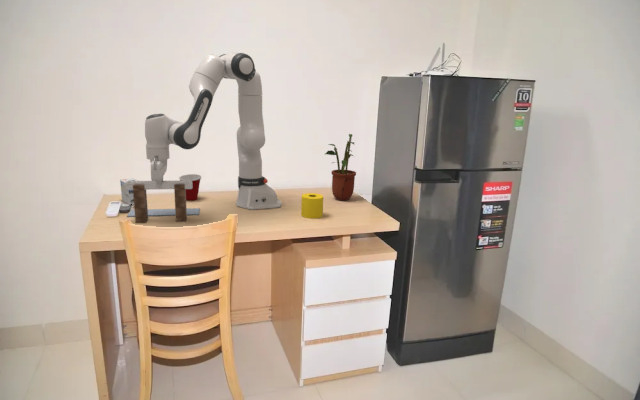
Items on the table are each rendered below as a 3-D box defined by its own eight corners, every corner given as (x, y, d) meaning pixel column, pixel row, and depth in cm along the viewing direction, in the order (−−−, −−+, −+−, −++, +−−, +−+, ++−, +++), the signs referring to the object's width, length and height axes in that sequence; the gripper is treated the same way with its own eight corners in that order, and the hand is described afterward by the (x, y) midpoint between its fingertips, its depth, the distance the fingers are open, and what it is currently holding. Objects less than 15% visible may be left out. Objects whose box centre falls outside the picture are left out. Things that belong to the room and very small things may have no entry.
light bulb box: (144, 203, 201) (142, 181, 198) (129, 206, 197) (127, 183, 194) (135, 198, 209) (133, 177, 206) (121, 200, 204) (119, 179, 201)
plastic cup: (175, 200, 208) (174, 177, 205) (188, 195, 218) (187, 173, 215) (193, 203, 205) (193, 179, 202) (206, 198, 215) (205, 175, 212)
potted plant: (353, 196, 232) (358, 133, 222) (355, 204, 217) (360, 136, 207) (322, 194, 232) (325, 131, 222) (321, 202, 217) (325, 134, 207)
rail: (192, 187, 180) (192, 180, 179) (192, 188, 177) (191, 182, 176) (127, 188, 174) (126, 180, 173) (125, 189, 171) (125, 182, 170)
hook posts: (186, 217, 184) (185, 182, 180) (185, 221, 179) (184, 185, 174) (138, 218, 180) (135, 182, 176) (135, 223, 174) (132, 185, 170)
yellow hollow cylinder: (299, 217, 191) (299, 197, 189) (303, 211, 201) (303, 192, 198) (320, 219, 190) (321, 199, 187) (323, 213, 199) (324, 194, 197)
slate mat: (199, 209, 196) (199, 208, 196) (198, 215, 188) (198, 213, 188) (131, 210, 189) (131, 209, 189) (126, 217, 181) (126, 215, 181)
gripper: (162, 158, 163) (164, 193, 166) (168, 150, 182) (170, 181, 185) (145, 158, 161) (148, 193, 165) (153, 150, 180) (155, 181, 184)
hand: (160, 186), depth 175 cm, fingers closed on rail, 3 cm apart
